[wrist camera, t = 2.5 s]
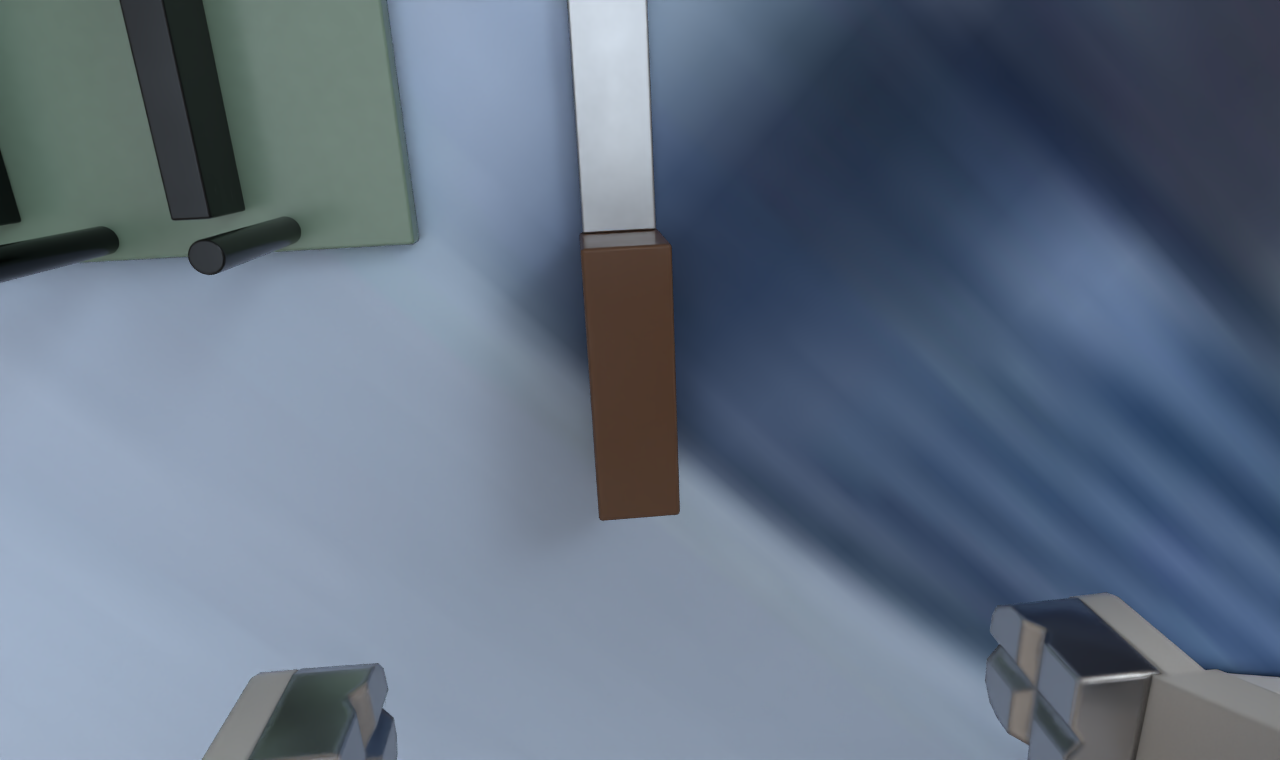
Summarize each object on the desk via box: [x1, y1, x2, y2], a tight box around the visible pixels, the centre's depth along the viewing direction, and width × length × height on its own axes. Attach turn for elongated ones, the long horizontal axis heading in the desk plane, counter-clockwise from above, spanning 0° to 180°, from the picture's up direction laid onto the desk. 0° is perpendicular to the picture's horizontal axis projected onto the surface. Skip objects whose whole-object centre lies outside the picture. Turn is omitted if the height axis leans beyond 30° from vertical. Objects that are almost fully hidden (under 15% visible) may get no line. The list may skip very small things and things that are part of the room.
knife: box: [567, 0, 680, 521], centre depth 21 cm, size 17×2×4 cm, turn 3°
